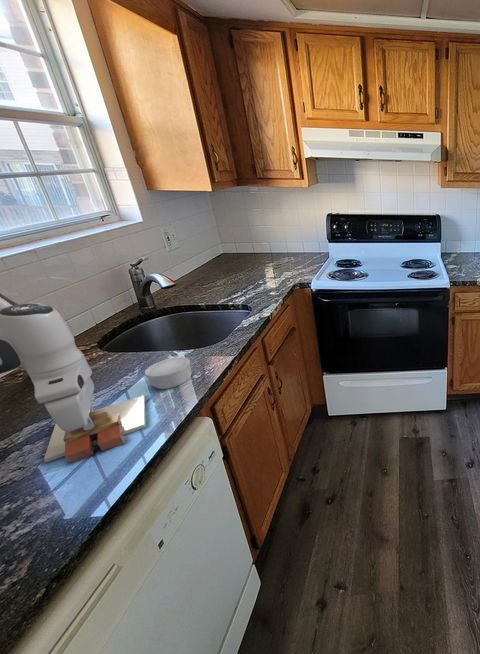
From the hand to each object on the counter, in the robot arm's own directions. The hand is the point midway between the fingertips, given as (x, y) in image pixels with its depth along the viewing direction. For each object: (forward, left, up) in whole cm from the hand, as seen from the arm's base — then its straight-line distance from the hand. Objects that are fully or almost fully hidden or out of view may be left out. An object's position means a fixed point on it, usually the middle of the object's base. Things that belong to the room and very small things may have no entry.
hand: (90, 423), depth 85 cm
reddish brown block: (-3, -4, -4) cm, 6 cm away
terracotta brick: (+3, -4, -4) cm, 6 cm away
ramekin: (+16, +19, -5) cm, 26 cm away
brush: (0, 0, -4) cm, 4 cm away
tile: (0, +6, -5) cm, 8 cm away
